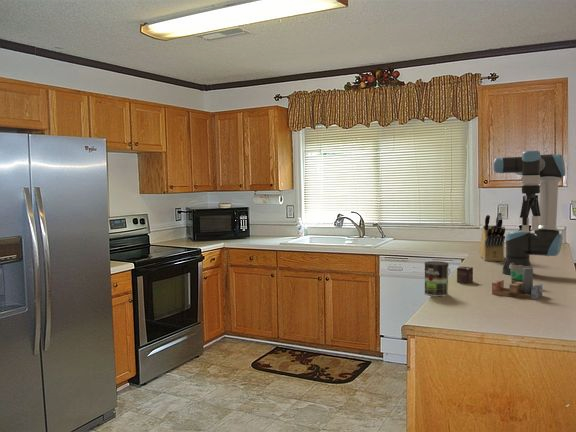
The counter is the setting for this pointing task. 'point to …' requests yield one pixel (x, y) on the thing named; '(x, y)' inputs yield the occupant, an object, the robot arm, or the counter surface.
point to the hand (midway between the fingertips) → (530, 231)
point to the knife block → (492, 240)
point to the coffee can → (436, 278)
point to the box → (465, 274)
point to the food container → (517, 272)
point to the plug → (527, 280)
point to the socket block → (516, 290)
